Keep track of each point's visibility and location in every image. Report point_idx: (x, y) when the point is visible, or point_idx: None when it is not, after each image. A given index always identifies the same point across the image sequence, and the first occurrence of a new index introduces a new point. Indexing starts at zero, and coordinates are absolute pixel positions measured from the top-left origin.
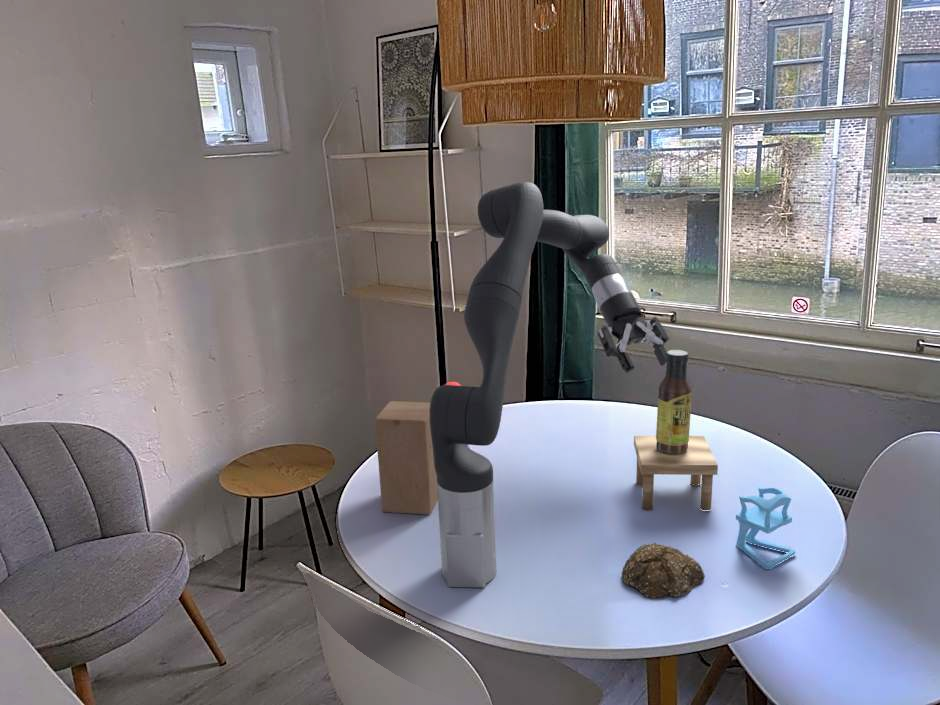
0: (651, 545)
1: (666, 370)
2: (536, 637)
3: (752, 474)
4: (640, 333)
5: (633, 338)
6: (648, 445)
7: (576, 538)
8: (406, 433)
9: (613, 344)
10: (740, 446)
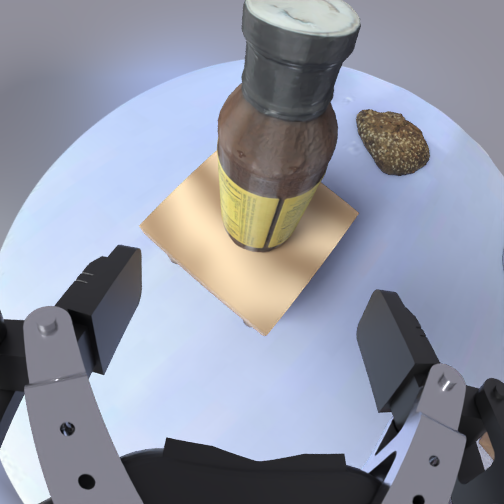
0: (401, 145)
1: (324, 100)
2: (495, 167)
3: (85, 219)
4: (179, 496)
5: (309, 471)
6: (282, 270)
7: (430, 249)
8: None
9: (502, 417)
10: (15, 297)
